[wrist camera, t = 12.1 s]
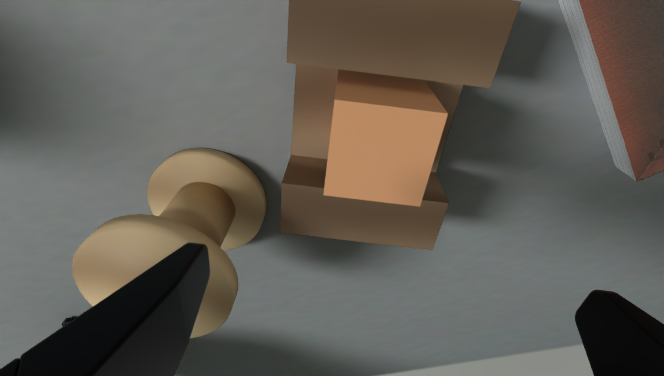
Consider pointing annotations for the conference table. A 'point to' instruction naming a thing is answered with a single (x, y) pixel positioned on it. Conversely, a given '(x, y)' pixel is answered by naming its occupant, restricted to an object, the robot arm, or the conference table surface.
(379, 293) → the conference table surface
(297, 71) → the notch board
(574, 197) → the conference table surface
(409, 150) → the light brown wooden block
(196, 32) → the conference table surface
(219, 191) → the spool
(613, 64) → the picture frame
